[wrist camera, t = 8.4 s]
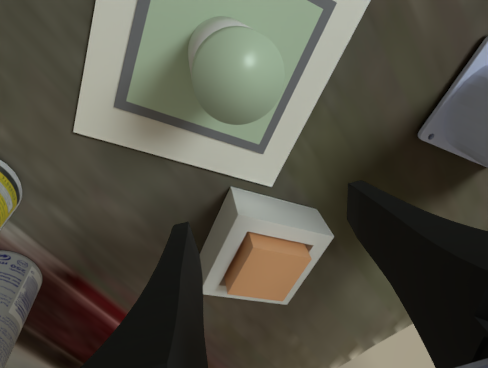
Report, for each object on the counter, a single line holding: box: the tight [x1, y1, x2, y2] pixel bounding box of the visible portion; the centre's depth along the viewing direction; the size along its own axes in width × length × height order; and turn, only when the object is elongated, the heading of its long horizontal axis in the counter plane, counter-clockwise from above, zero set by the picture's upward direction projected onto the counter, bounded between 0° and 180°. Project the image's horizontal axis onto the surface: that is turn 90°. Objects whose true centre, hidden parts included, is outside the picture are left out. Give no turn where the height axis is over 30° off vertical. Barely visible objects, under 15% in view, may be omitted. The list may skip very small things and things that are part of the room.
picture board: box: [73, 0, 370, 187], centre depth 19 cm, size 14×15×1 cm
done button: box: [224, 231, 312, 301], centre depth 24 cm, size 5×5×2 cm
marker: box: [188, 16, 285, 125], centre depth 16 cm, size 4×4×6 cm
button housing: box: [199, 187, 334, 305], centre depth 25 cm, size 8×8×4 cm
